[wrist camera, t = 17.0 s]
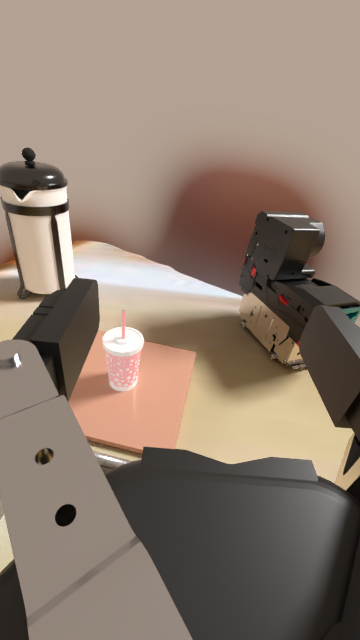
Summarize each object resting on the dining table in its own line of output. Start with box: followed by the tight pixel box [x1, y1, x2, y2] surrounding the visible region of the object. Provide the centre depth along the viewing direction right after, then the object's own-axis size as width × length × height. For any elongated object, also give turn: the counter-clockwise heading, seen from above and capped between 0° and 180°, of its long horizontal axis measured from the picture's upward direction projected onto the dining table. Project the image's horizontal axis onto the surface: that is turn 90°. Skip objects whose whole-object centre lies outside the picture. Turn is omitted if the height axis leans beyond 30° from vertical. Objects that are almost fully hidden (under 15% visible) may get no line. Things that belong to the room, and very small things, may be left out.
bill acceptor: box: [239, 211, 360, 369], centre depth 57 cm, size 10×23×25 cm, turn 21°
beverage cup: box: [102, 310, 144, 392], centre depth 44 cm, size 6×6×14 cm
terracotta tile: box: [68, 331, 197, 454], centre depth 49 cm, size 22×22×1 cm
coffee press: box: [0, 148, 78, 299], centre depth 64 cm, size 17×16×30 cm
